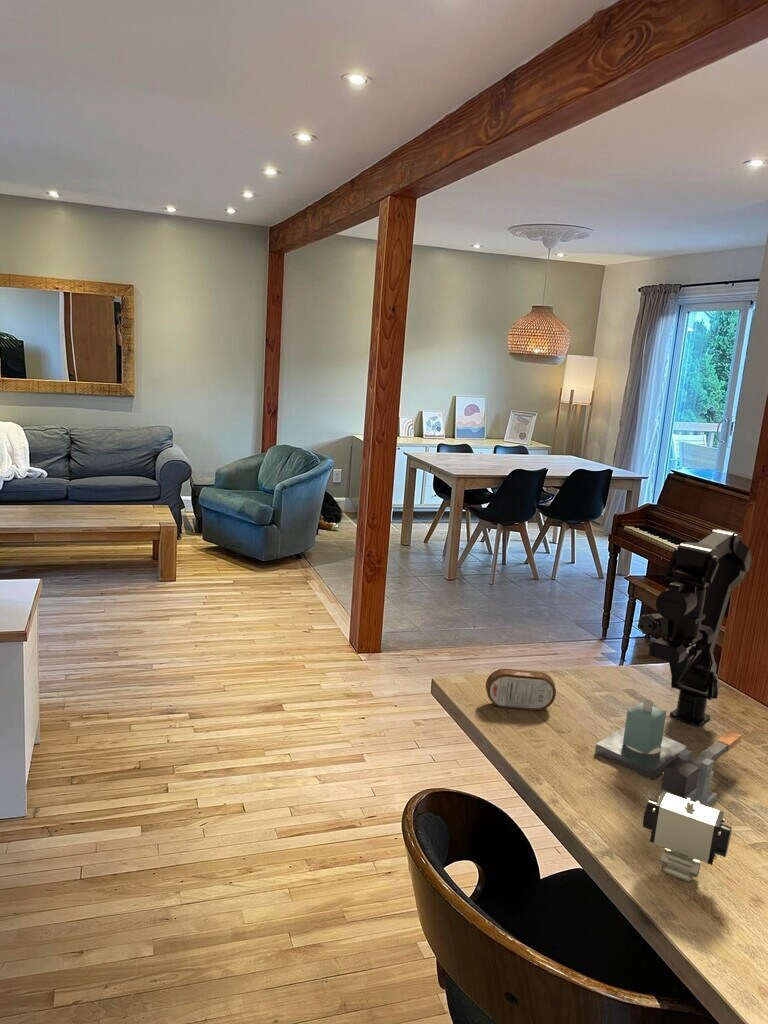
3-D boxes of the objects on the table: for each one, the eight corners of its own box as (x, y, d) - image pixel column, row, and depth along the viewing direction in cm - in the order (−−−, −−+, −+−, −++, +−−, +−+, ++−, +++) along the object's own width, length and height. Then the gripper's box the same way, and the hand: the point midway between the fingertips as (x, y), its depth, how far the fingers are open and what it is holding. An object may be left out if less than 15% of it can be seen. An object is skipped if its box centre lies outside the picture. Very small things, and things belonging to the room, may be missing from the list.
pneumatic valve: (717, 897, 111) (731, 824, 109) (635, 865, 117) (646, 795, 114) (723, 877, 116) (736, 806, 113) (644, 846, 122) (655, 778, 119)
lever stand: (678, 782, 141) (684, 743, 139) (715, 800, 136) (723, 759, 134) (662, 794, 137) (669, 753, 135) (701, 812, 132) (708, 770, 130)
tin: (552, 707, 168) (556, 671, 166) (554, 713, 165) (559, 677, 163) (483, 701, 169) (487, 665, 167) (484, 708, 166) (488, 671, 164)
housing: (637, 734, 154) (643, 692, 152) (661, 744, 150) (667, 702, 148) (622, 743, 149) (628, 701, 148) (646, 754, 146) (653, 710, 144)
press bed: (630, 731, 159) (631, 721, 159) (686, 755, 151) (687, 745, 150) (594, 753, 150) (596, 742, 149) (652, 780, 141) (654, 769, 141)
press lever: (723, 741, 149) (726, 722, 149) (743, 750, 147) (747, 730, 146) (660, 788, 131) (664, 766, 131) (683, 798, 129) (687, 776, 128)
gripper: (667, 588, 163) (657, 656, 166) (627, 606, 149) (617, 680, 153) (720, 602, 155) (708, 673, 159) (683, 622, 142) (671, 700, 145)
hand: (675, 681), depth 154 cm, fingers closed
